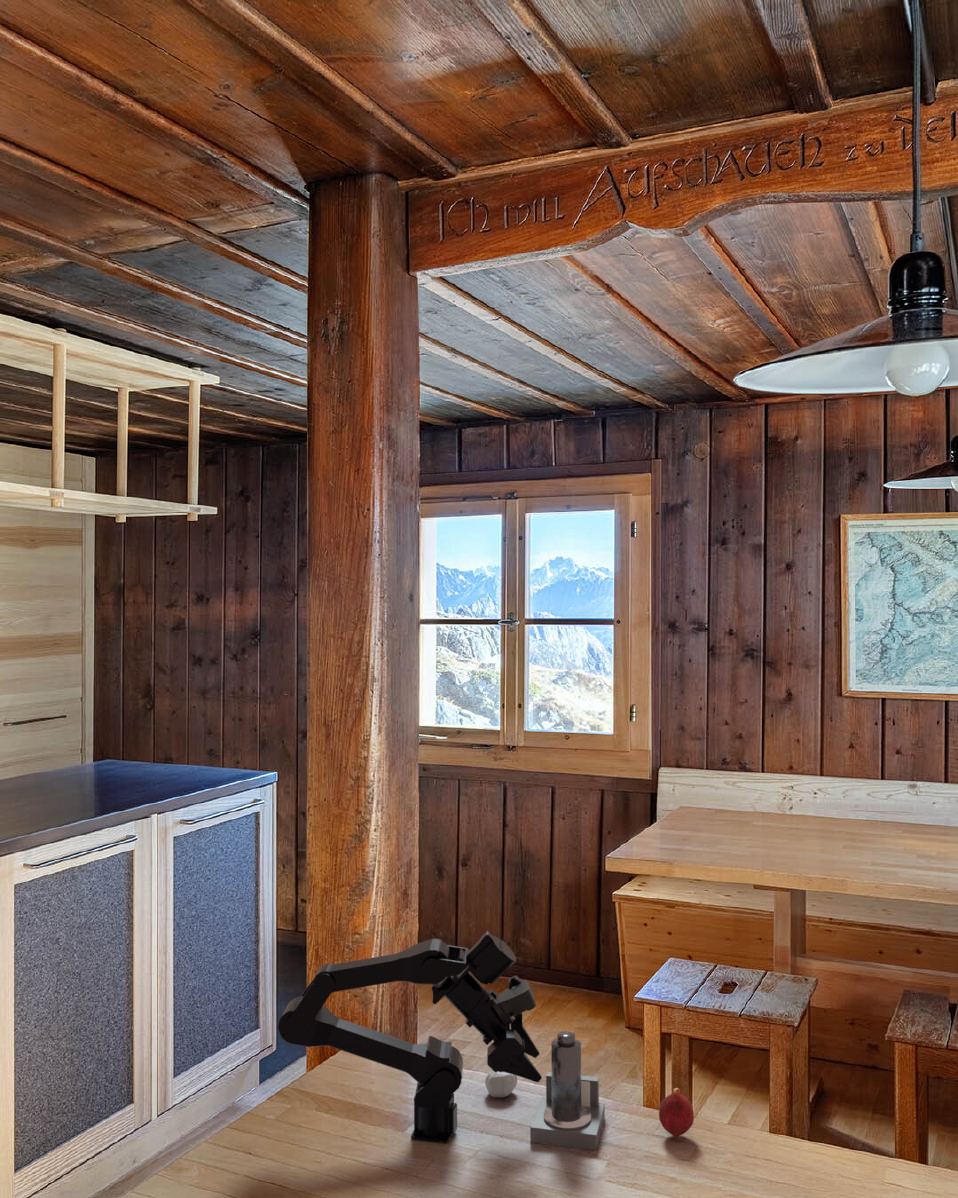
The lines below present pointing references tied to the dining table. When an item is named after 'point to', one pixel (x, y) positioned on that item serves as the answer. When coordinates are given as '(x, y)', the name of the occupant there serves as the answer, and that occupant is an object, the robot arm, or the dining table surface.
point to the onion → (676, 1113)
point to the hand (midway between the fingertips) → (538, 1067)
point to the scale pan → (573, 1125)
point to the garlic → (500, 1083)
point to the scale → (571, 1138)
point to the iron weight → (566, 1077)
